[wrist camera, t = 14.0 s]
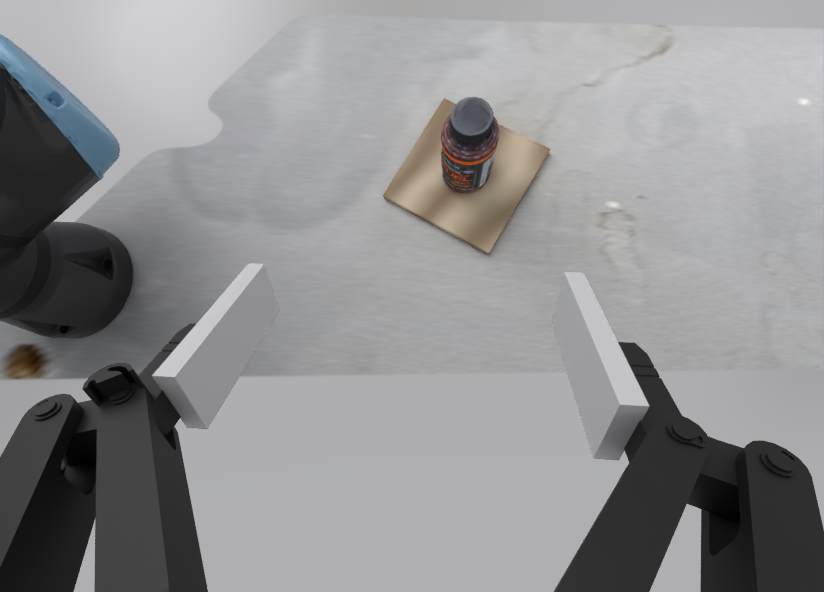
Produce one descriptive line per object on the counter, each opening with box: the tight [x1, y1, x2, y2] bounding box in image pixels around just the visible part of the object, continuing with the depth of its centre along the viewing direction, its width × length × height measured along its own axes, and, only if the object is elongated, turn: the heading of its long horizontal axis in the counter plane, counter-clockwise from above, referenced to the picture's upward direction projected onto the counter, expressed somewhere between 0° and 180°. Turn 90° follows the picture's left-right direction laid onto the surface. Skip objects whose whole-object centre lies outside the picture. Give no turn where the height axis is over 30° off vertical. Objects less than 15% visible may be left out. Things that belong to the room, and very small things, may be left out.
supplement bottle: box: [441, 97, 499, 193], centre depth 40 cm, size 6×6×11 cm
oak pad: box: [383, 99, 550, 254], centre depth 46 cm, size 15×15×1 cm
